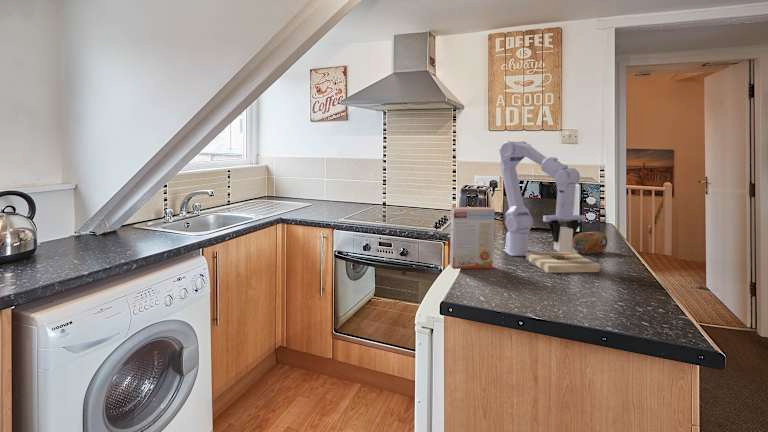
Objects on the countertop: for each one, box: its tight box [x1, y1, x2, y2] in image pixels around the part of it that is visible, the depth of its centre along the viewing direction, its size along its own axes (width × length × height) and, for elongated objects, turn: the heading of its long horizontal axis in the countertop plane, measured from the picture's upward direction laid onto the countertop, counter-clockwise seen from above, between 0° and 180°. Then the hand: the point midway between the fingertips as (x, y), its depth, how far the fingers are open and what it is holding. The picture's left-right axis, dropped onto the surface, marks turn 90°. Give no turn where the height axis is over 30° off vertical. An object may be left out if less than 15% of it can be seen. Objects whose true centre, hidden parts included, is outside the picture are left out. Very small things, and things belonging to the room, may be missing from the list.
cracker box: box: [449, 206, 496, 270], centre depth 145 cm, size 14×6×21 cm, turn 92°
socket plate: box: [525, 251, 601, 274], centre depth 150 cm, size 18×18×2 cm
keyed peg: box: [552, 226, 574, 252], centre depth 149 cm, size 4×6×8 cm
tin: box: [572, 231, 608, 255], centre depth 169 cm, size 15×3×8 cm, turn 105°
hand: (562, 241), depth 149 cm, fingers closed on keyed peg, 4 cm apart
